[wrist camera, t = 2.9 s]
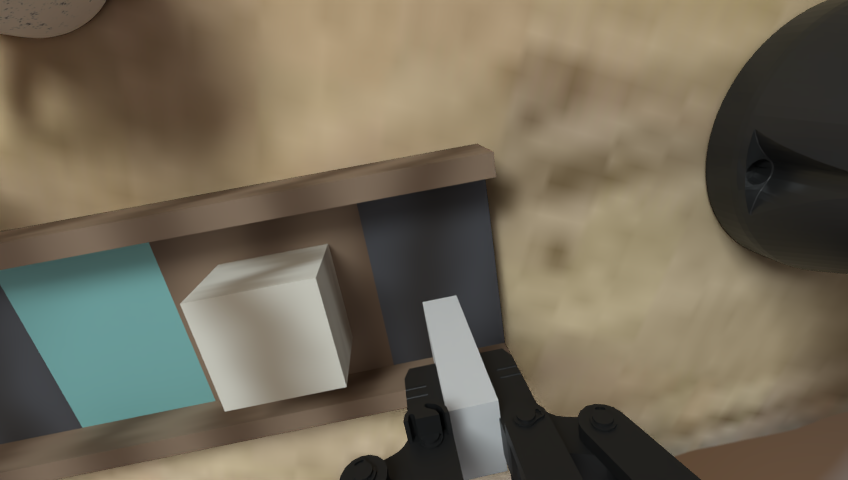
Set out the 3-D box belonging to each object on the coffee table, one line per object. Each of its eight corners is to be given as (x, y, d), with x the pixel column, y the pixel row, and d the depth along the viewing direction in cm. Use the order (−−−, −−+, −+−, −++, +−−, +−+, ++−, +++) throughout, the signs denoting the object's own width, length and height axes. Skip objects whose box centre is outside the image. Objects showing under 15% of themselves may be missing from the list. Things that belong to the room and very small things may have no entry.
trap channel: (477, 143, 23) (493, 151, 19) (502, 349, 27) (519, 384, 24) (-126, 254, 21) (-218, 283, 18) (5, 450, 26) (-50, 501, 23)
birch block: (328, 243, 23) (315, 277, 18) (352, 336, 25) (346, 386, 20) (218, 264, 22) (179, 303, 18) (252, 356, 24) (225, 411, 20)
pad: (154, 226, 22) (144, 231, 21) (221, 389, 26) (215, 400, 25) (3, 254, 22) (-14, 261, 21) (93, 415, 26) (82, 427, 25)
